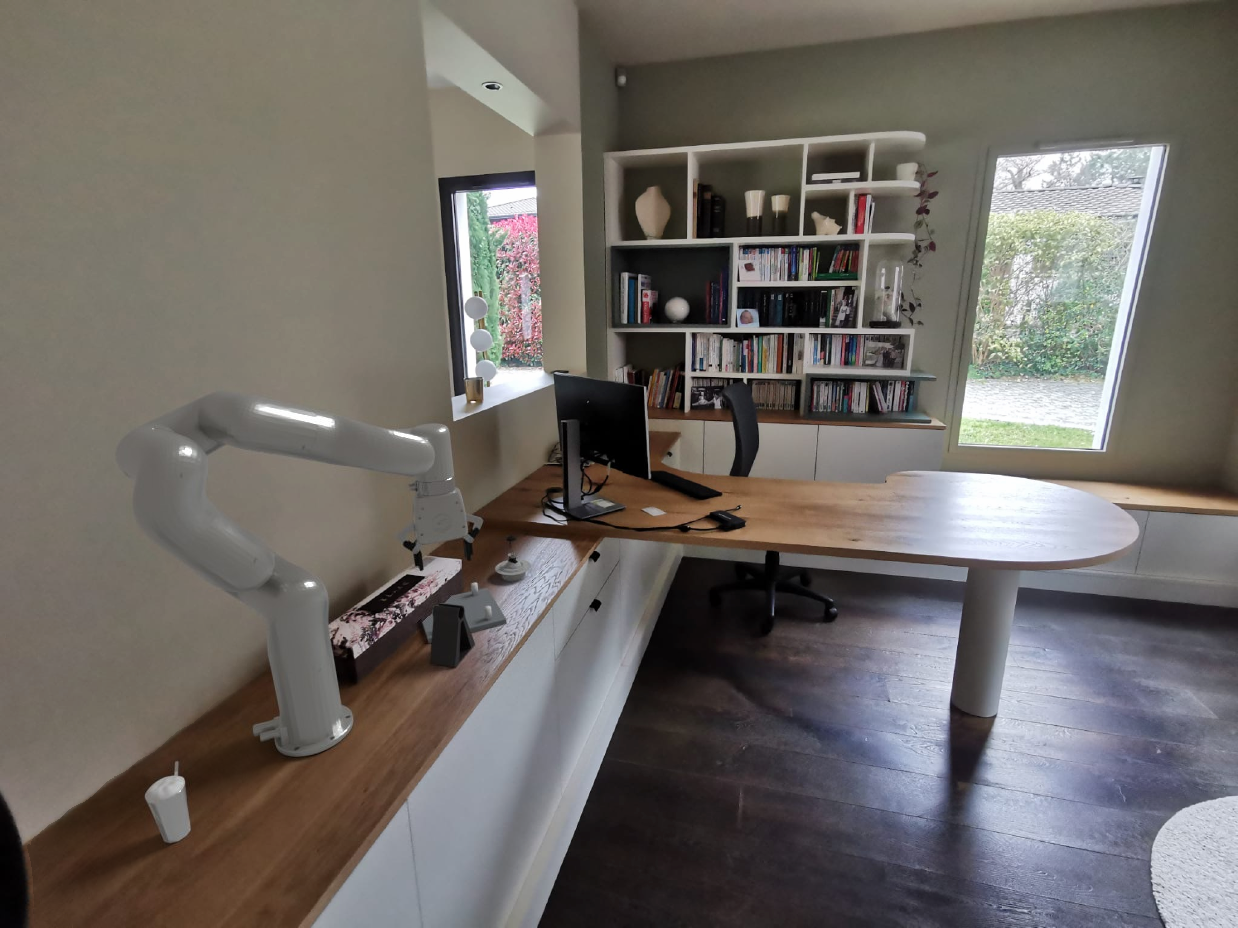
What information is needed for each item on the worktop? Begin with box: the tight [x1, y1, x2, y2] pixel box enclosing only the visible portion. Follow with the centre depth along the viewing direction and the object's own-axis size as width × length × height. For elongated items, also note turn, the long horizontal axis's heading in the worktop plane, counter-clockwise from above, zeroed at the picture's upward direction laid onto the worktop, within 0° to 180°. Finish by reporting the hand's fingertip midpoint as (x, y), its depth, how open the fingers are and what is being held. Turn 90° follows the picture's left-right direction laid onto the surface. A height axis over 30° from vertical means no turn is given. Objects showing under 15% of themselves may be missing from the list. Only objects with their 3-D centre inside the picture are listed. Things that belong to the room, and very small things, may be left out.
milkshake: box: [144, 760, 192, 844], centre depth 86 cm, size 4×5×10 cm
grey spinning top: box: [494, 534, 532, 582], centre depth 164 cm, size 12×10×10 cm
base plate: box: [420, 582, 508, 644], centre depth 145 cm, size 18×18×4 cm
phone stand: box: [429, 603, 476, 669], centre depth 128 cm, size 9×6×12 cm, turn 166°
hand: (444, 563), depth 124 cm, fingers open, 9 cm apart
